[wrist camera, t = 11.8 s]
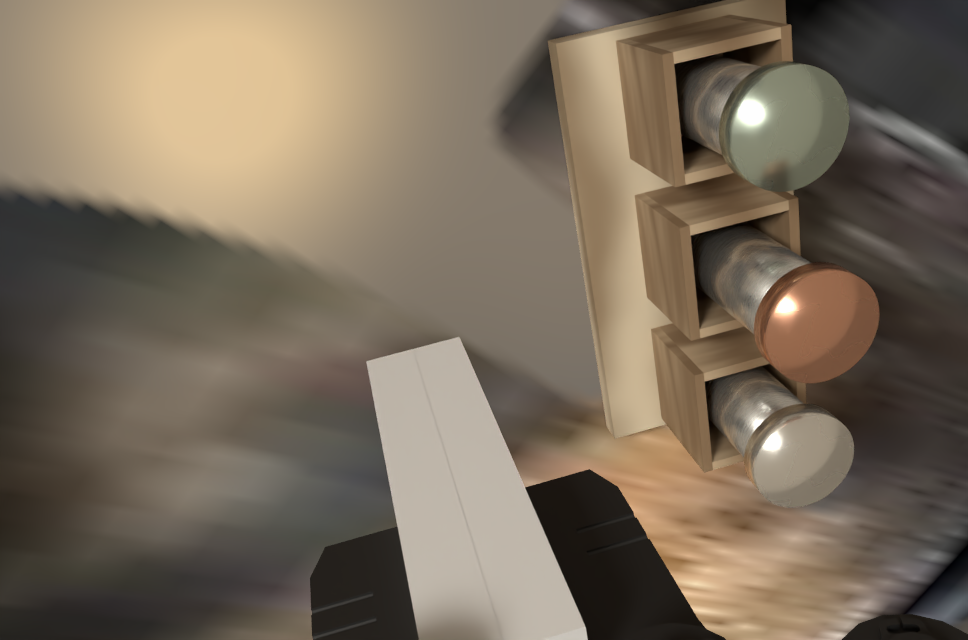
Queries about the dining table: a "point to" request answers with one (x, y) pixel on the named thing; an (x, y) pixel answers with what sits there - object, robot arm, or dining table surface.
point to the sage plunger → (764, 118)
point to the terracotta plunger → (787, 301)
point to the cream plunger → (780, 437)
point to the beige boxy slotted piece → (662, 214)
